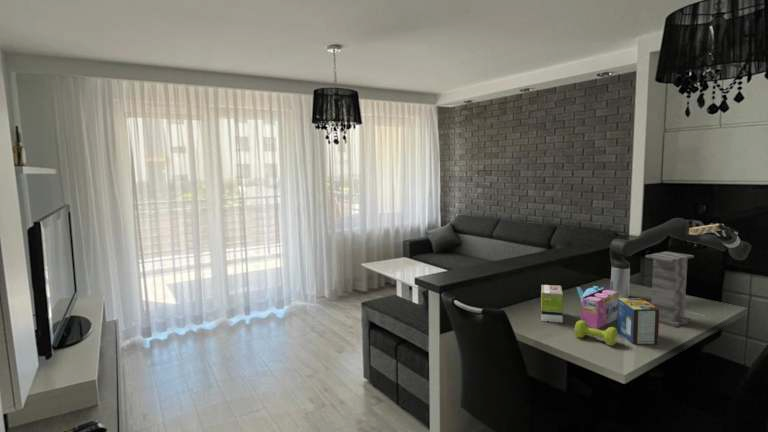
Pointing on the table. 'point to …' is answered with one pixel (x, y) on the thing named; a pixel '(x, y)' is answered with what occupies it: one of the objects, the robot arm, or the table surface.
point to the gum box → (600, 308)
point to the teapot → (588, 291)
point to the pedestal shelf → (670, 286)
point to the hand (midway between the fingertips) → (715, 224)
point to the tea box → (551, 303)
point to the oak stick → (704, 229)
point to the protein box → (638, 321)
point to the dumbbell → (596, 332)
